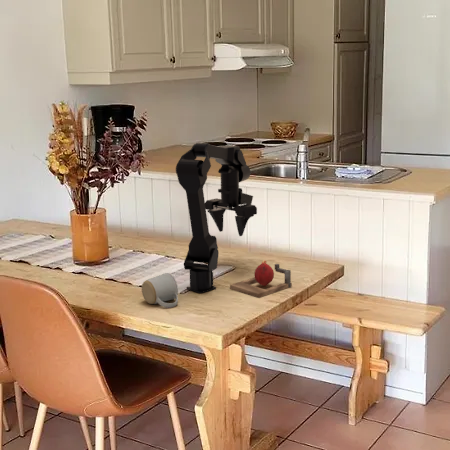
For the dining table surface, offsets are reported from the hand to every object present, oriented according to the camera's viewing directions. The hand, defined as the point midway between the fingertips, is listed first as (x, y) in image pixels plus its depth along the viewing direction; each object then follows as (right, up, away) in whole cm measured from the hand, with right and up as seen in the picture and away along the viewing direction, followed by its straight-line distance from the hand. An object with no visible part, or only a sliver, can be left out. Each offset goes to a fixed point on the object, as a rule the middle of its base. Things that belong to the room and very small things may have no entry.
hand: (230, 233), depth 226 cm
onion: (+10, -16, -15) cm, 24 cm away
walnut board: (+9, -16, -16) cm, 24 cm away
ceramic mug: (-19, -19, -27) cm, 38 cm away
